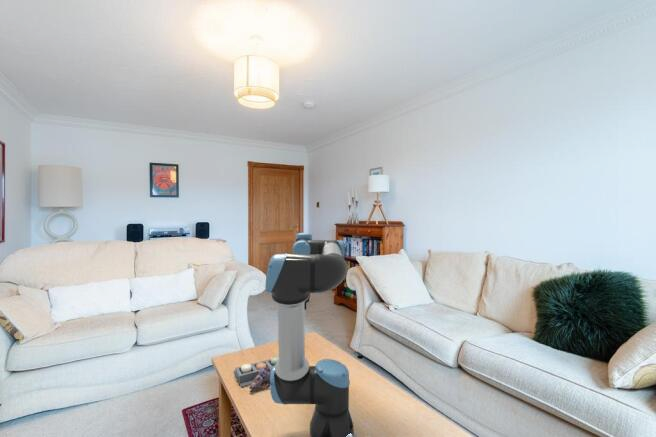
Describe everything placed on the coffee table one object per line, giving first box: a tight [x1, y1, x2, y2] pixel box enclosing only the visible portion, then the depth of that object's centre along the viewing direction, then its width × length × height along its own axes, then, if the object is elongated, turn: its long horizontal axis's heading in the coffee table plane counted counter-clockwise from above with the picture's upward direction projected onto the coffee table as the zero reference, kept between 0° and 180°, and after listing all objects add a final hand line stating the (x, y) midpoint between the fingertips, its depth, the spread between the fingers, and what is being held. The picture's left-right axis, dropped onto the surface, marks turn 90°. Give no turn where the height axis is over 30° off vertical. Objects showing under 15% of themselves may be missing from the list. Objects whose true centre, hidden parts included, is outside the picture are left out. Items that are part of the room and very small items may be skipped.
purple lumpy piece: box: [248, 367, 272, 393], centre depth 131 cm, size 12×8×6 cm, turn 138°
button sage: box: [270, 356, 279, 366], centre depth 145 cm, size 4×4×2 cm
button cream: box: [240, 363, 251, 374], centre depth 138 cm, size 4×4×2 cm
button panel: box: [233, 358, 273, 389], centre depth 141 cm, size 14×22×4 cm, turn 120°
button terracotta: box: [256, 363, 266, 370], centre depth 141 cm, size 4×4×2 cm
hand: (302, 315), depth 143 cm, fingers closed
